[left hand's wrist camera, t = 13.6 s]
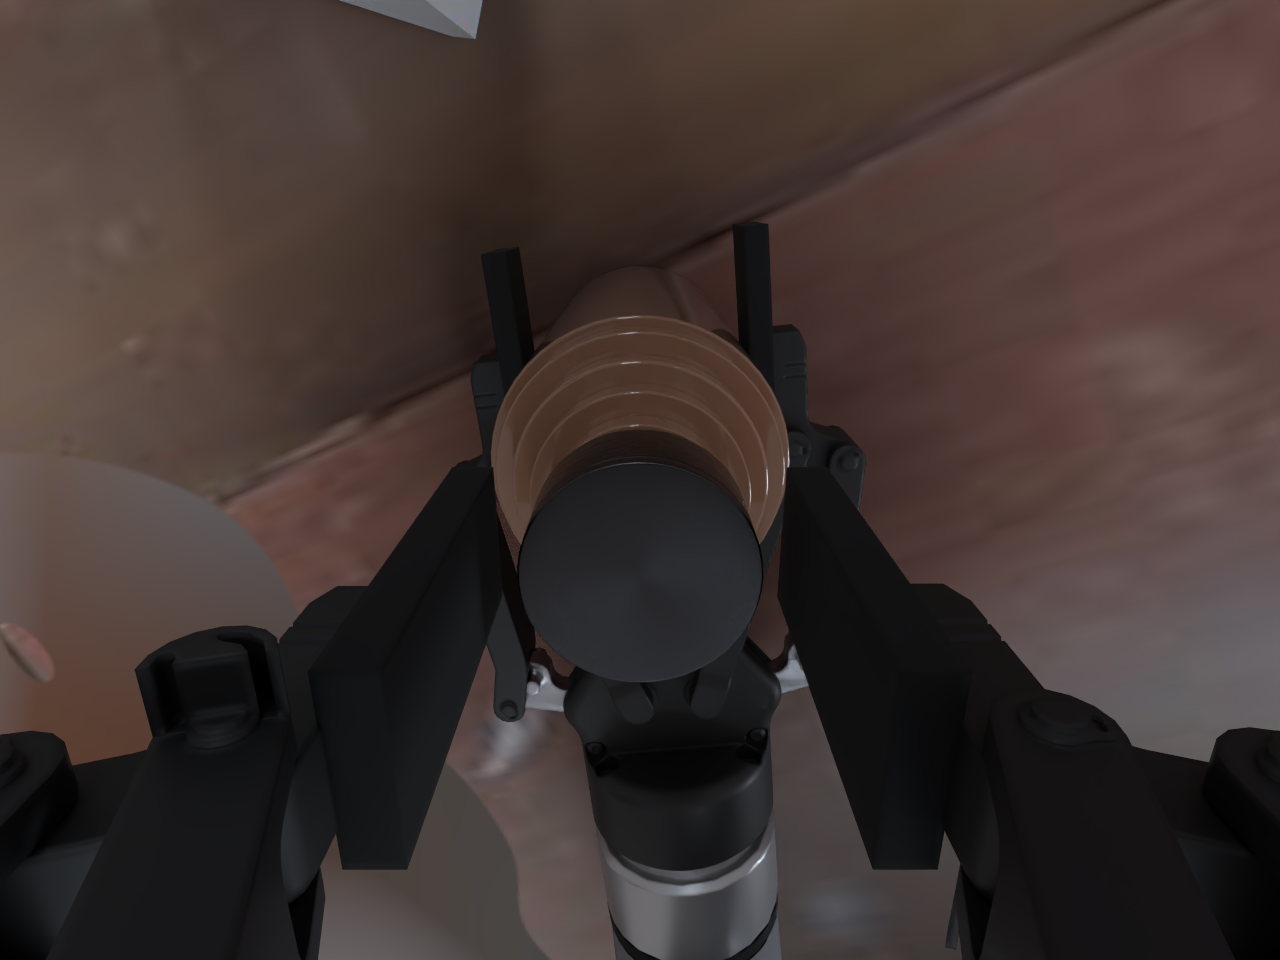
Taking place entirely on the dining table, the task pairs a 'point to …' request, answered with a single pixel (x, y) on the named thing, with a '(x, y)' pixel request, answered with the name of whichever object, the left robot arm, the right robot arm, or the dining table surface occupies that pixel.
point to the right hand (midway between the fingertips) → (624, 238)
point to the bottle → (640, 391)
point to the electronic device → (431, 14)
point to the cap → (640, 558)
